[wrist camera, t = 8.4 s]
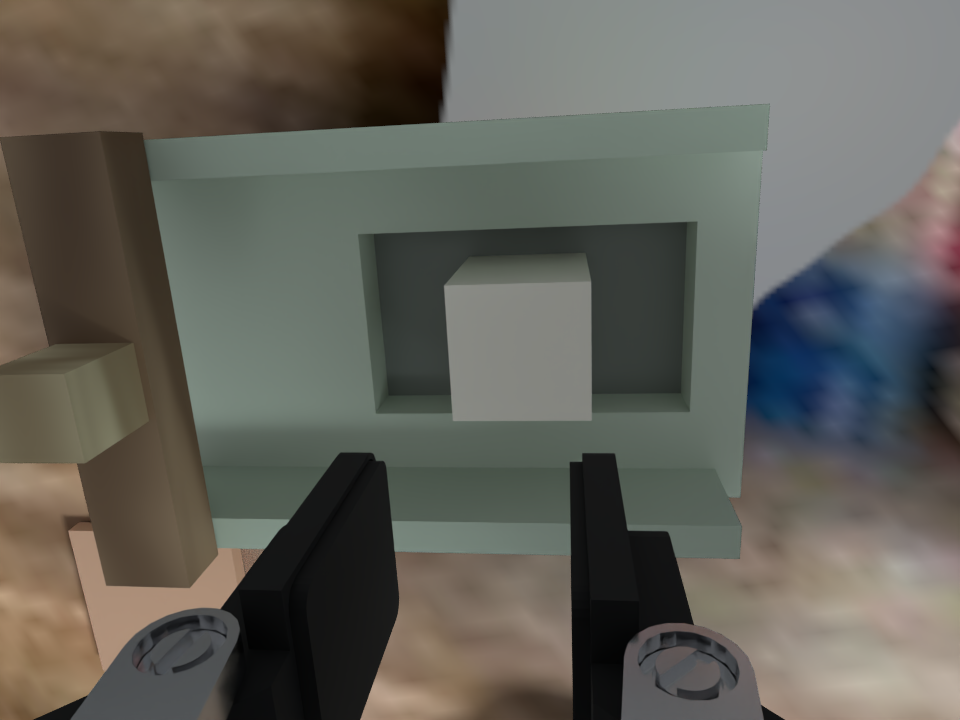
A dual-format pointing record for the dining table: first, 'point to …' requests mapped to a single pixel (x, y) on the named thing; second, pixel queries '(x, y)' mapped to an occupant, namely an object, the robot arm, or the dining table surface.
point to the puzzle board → (422, 317)
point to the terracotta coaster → (144, 594)
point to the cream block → (520, 338)
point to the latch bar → (107, 357)
